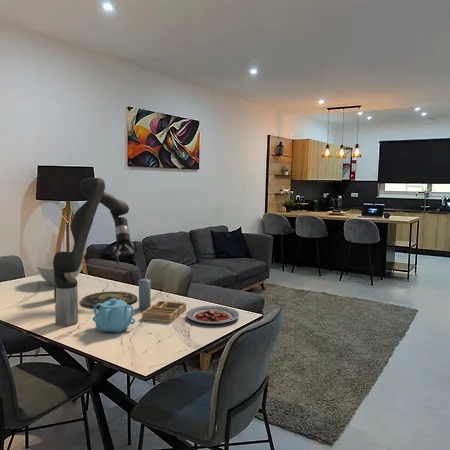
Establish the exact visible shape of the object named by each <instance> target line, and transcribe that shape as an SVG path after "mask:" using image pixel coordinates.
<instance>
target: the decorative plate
mask: <svg viewBox="0 0 450 450" xmlns="http://www.w3.org/2000/svg"><path fill="white" fill-rule="evenodd" d="M114 298H115V299H117V300H122V301H125V302H126V303H127V305H131V306H133V305H135V304H136V302H138V296H137V295H136V294H133V293H131V292H127V291H103V292H102V291H101V292H95V293H92V294H88V295H86V296H84V297H82V299H81V300H80V304H81V305H82V306H83V307H85V308H88V309H93V308H94V306H95V305H96V304H98V303H101V304H103V303H104V302H106V301H110V299H114ZM100 307H101V306H97V307H96V309H97V310H99V309H100Z"/></svg>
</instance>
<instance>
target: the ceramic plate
mask: <svg viewBox="0 0 450 450" xmlns="http://www.w3.org/2000/svg"><path fill="white" fill-rule="evenodd" d="M186 316H187V318H188V319H190V320H192V321H193V322H197V323H201V324H202V323H203V324H209V325H211V324H216V325H217V324H225V323H231V322H233V321H236V320H237V319H239V317H240V313H239V311H237V310H236V309H235V308H231V307H226V306H218V305H204V306H197V307H193V308H192V309H190V310H188V311H187V312H186Z"/></svg>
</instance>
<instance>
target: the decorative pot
mask: <svg viewBox="0 0 450 450" xmlns="http://www.w3.org/2000/svg"><path fill="white" fill-rule="evenodd" d="M97 306H101V307H100V309H96V307H97ZM92 309H93V313H94V316H93V317H92V321H93V322H94V323H95V327H96V328H97V329H98V330H99V331H100V332H102V333H103V332H104V333H106V332H111V333H114V332H115V333H122V331H123V330H126V329H127V328H128V327H129V326H130V325H134V324H135V323H136V319H135V318H133V317H134V313H135V307H134V306H133V305H127V303H126V302H125V301H122V300H117V299H115V298H114V299H110V301H106V302H104V303H103V304H101V303H98V304H96V305H95V306H94V308H92Z"/></svg>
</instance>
